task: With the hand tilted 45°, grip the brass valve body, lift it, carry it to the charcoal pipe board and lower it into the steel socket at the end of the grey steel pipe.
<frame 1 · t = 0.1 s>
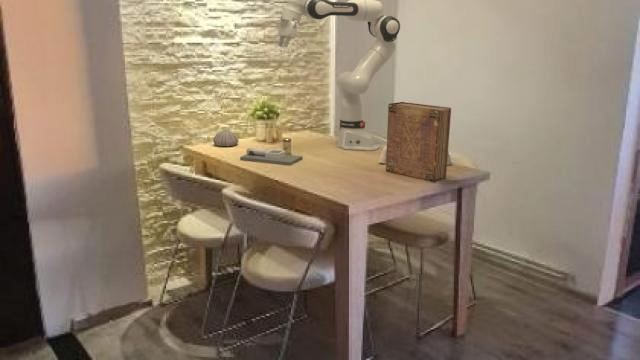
hand: (282, 46, 270), 52 cm above the table, tool tilted 20°, fingers open, 8 cm apart
brass valve: (287, 154, 273), on the table
flask: (443, 164, 258), on the table
book: (415, 175, 238), on the table
sea urchin shell: (226, 145, 293), on the table
faucet: (393, 162, 262), on the table
pipe board: (271, 159, 262), on the table
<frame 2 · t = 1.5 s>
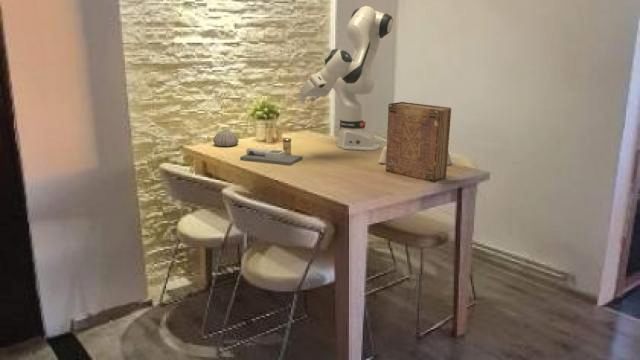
hand: (306, 100, 262), 27 cm above the table, tool tilted 45°, fingers open, 8 cm apart
nothing on the table moved.
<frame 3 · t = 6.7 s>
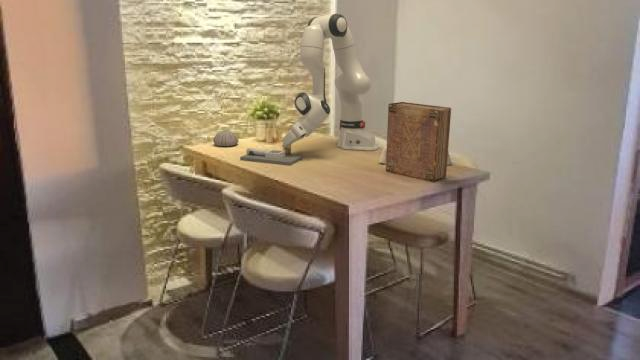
hand: (285, 145, 272), 4 cm above the table, tool tilted 45°, fingers closed on brass valve, 4 cm apart
brass valve: (287, 154, 273), on the table, touching gripper
everything else where it was.
when the fingers open (7 cm above the table, at t = 12.1 s): brass valve stays where it is, resting on pipe board.
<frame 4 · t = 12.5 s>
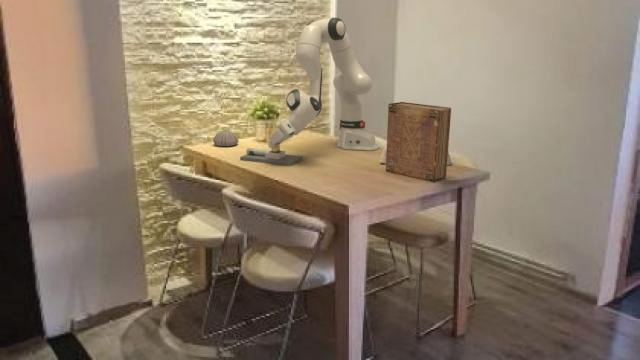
hand: (274, 144, 260), 7 cm above the table, tool tilted 45°, fingers open, 8 cm apart
brass valve: (275, 156, 261), point 2 cm above the table, touching pipe board
everything else where it was.
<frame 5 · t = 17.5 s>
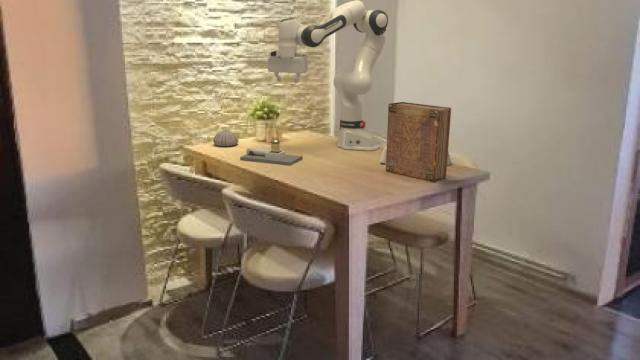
hand: (287, 82, 269), 35 cm above the table, tool pointing down, fingers open, 8 cm apart
nothing on the table moved.
at the end: brass valve 0.1 cm from the target spot on the pipe board, point 1.5 cm above the pipe board's base; brass valve tilted 1°; the gripper is holding nothing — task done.
